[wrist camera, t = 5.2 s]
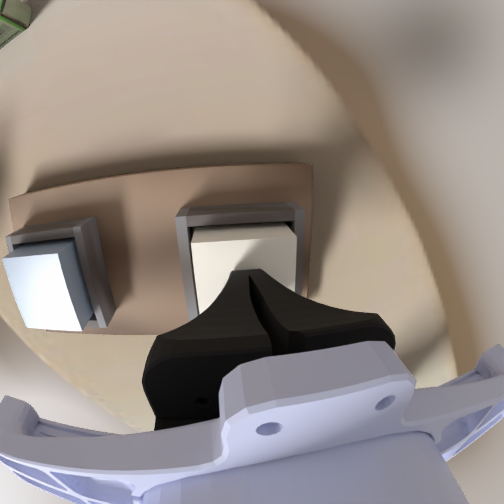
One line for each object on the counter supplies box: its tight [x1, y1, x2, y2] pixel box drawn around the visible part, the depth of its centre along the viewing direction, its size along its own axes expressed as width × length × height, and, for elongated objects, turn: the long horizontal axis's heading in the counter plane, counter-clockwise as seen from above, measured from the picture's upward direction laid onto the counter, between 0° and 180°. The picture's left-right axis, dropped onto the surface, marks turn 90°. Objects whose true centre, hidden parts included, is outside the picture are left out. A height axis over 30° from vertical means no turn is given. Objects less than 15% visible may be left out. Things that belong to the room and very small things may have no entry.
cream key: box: [191, 222, 297, 314], centre depth 13 cm, size 4×4×2 cm
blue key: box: [2, 238, 94, 331], centre depth 12 cm, size 4×4×2 cm
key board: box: [5, 163, 312, 335], centre depth 15 cm, size 10×19×4 cm, turn 91°
